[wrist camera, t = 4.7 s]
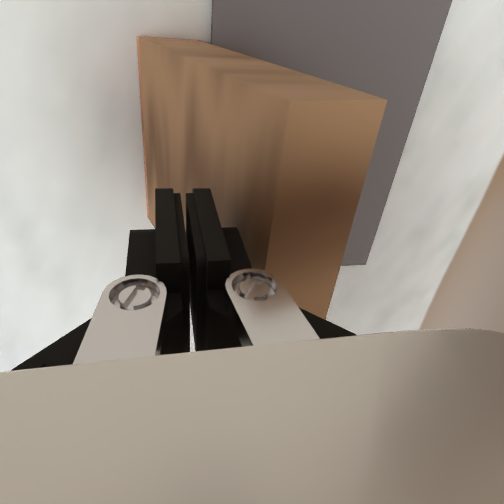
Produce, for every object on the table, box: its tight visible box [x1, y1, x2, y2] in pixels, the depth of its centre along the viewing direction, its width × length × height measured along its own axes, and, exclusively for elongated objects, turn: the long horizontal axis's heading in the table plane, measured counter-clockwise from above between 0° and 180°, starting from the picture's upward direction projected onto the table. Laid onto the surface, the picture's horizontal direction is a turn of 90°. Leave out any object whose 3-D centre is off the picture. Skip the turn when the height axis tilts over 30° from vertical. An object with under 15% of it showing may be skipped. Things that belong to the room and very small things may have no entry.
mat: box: [211, 0, 452, 266], centre depth 22 cm, size 18×12×1 cm, turn 174°
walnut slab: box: [137, 37, 387, 319], centre depth 15 cm, size 9×3×12 cm, turn 174°
